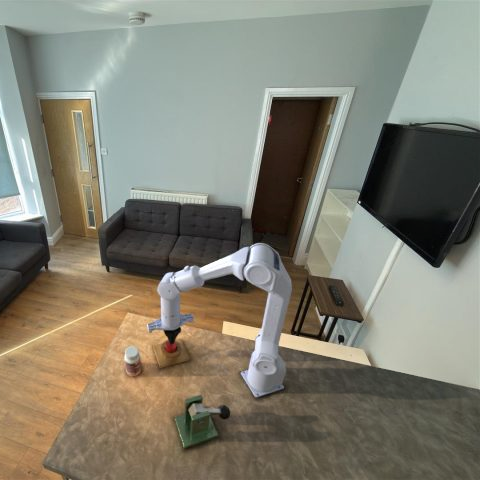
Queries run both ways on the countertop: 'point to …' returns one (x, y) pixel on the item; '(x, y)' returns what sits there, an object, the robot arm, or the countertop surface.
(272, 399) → the countertop surface
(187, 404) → the bracket
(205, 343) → the countertop surface
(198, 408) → the lever
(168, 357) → the button block
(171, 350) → the button
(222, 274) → the robot arm
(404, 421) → the countertop surface
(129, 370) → the pill bottle
